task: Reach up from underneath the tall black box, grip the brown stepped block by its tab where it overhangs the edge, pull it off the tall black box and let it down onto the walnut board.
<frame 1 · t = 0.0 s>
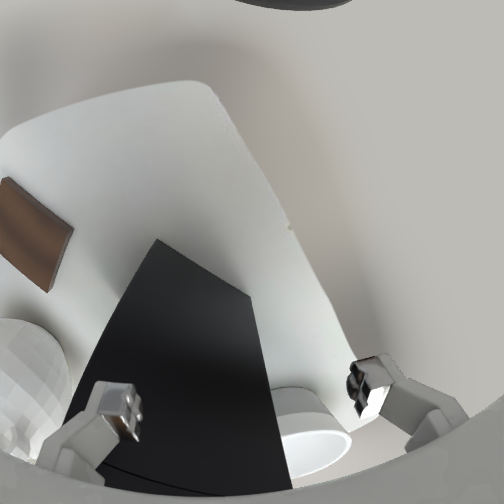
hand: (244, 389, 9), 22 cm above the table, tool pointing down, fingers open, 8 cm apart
board: (27, 233, 27), on the table
pitcher: (40, 343, 33), on the table
tall black box: (182, 299, 33), on the table
bowl: (280, 410, 43), on the table
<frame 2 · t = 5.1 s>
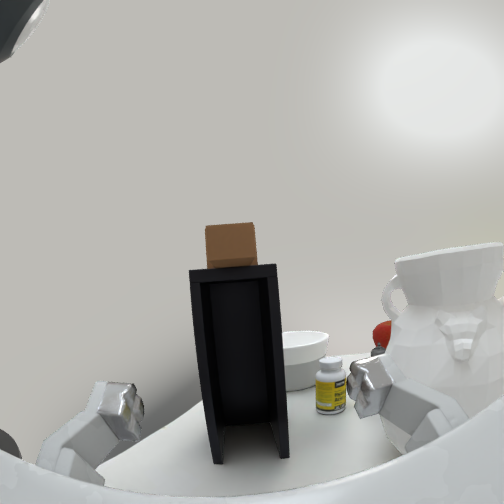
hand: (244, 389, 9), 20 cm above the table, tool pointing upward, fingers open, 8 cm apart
apple: (393, 363, 60), on the table
pitcher: (439, 450, 21), on the table
tall black box: (249, 439, 35), on the table
brown stepped block: (232, 270, 37), point 26 cm above the table, touching tall black box
bowl: (290, 381, 61), on the table
supplement bottle: (331, 409, 42), on the table
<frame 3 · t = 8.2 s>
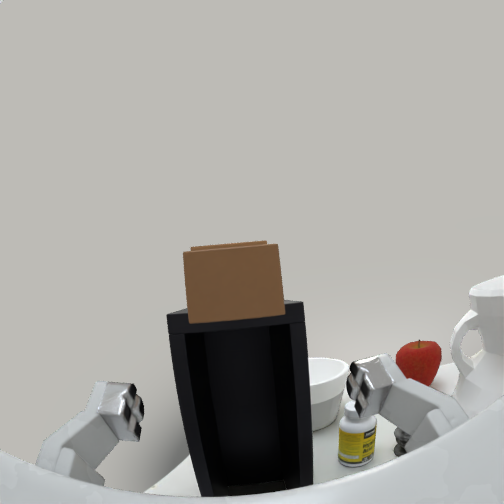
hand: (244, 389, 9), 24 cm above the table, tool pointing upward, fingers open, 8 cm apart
salt shaker: (410, 449, 28), on the table
apple: (417, 390, 48), on the table
brown stepped block: (234, 305, 25), point 26 cm above the table, touching tall black box
bowl: (302, 417, 48), on the table
supplement bottle: (356, 458, 30), on the table
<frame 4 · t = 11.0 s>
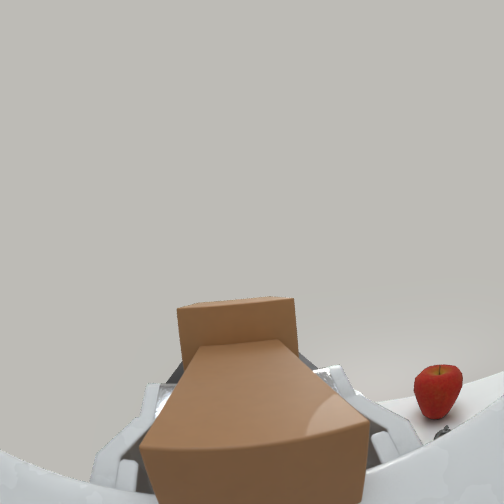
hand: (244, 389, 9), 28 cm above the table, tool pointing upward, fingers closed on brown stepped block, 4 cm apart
apple: (434, 417, 40), on the table
brown stepped block: (241, 373, 17), point 26 cm above the table, touching gripper, tall black box
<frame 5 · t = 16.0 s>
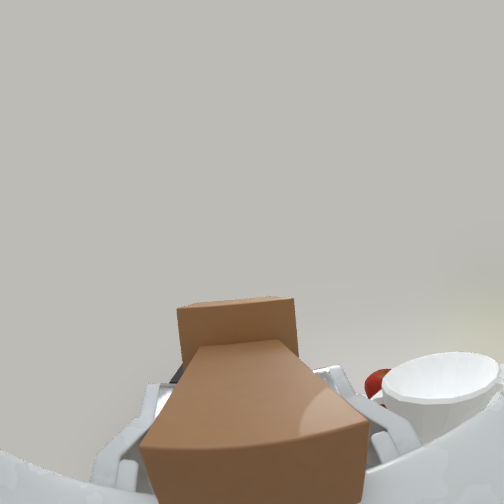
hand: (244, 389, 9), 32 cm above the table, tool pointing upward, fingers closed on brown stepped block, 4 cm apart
apple: (384, 411, 56), on the table
brown stepped block: (241, 373, 17), point 30 cm above the table, touching gripper
when the fingers open (15 cm above the table, at t = 20.8 s): brown stepped block drops 12 cm, resting on board.
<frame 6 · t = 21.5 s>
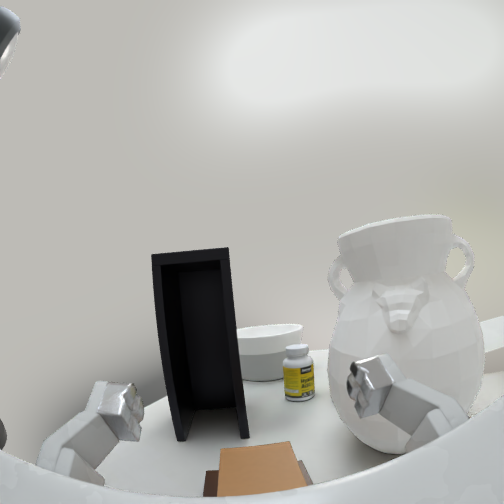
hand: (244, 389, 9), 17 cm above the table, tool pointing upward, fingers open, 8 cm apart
pitcher: (403, 436, 24), on the table
tall black box: (215, 421, 37), on the table
bowl: (267, 372, 63), on the table
supplement bottle: (300, 397, 45), on the table
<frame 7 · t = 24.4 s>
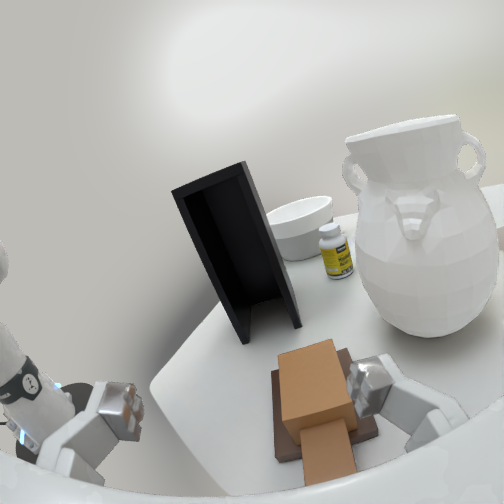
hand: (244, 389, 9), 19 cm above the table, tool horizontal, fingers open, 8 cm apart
board: (319, 405, 27), on the table
pitcher: (432, 317, 31), on the table
tall black box: (270, 314, 49), on the table
brown stepped block: (320, 404, 25), point 1 cm above the table, touching board
bowl: (307, 248, 71), on the table
supplement bottle: (341, 273, 53), on the table
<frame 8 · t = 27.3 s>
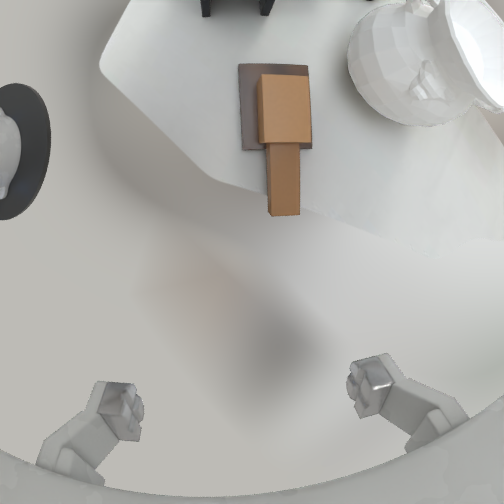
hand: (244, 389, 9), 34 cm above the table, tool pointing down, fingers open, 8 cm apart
board: (274, 106, 36), on the table
pitcher: (377, 75, 35), on the table
brown stepped block: (278, 112, 35), point 1 cm above the table, touching board
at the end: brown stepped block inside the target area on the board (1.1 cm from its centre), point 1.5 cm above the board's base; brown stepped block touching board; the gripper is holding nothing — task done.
